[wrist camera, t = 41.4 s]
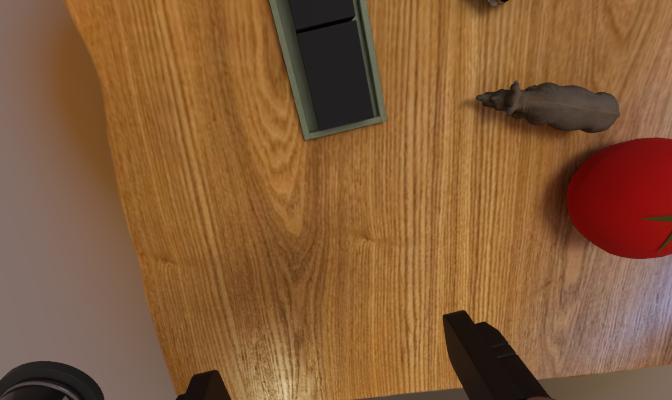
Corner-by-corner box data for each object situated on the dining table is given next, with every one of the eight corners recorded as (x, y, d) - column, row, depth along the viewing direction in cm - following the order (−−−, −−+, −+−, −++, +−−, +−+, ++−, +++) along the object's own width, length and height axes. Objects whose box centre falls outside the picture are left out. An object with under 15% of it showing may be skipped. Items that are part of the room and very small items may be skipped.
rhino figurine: (469, 71, 35) (500, 70, 29) (593, 91, 36) (646, 94, 31) (458, 113, 36) (487, 120, 30) (578, 131, 38) (627, 140, 32)
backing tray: (305, 137, 36) (304, 140, 34) (250, -77, 29) (247, -86, 28) (383, 119, 36) (387, 121, 34) (345, -99, 29) (347, -109, 28)
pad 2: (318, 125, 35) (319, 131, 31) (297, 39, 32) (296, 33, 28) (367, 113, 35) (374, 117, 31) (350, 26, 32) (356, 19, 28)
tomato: (530, 179, 39) (607, 212, 29) (629, 109, 37) (746, 120, 27) (570, 248, 42) (651, 300, 33) (663, 188, 41) (778, 222, 31)
